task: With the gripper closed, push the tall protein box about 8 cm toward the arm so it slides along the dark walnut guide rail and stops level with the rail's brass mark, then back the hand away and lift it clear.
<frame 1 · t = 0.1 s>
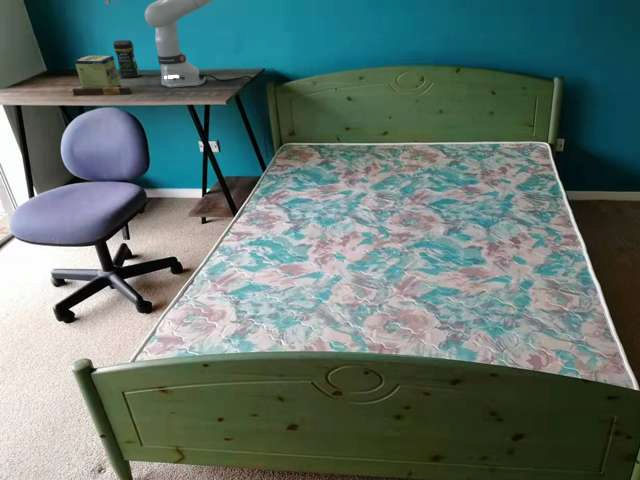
hand: (111, 2, 289), 39 cm above the table, tool pointing down, fingers open, 8 cm apart
coffee jar: (130, 76, 323), on the table
guide rail: (102, 94, 296), on the table
protein box: (102, 90, 302), on the table
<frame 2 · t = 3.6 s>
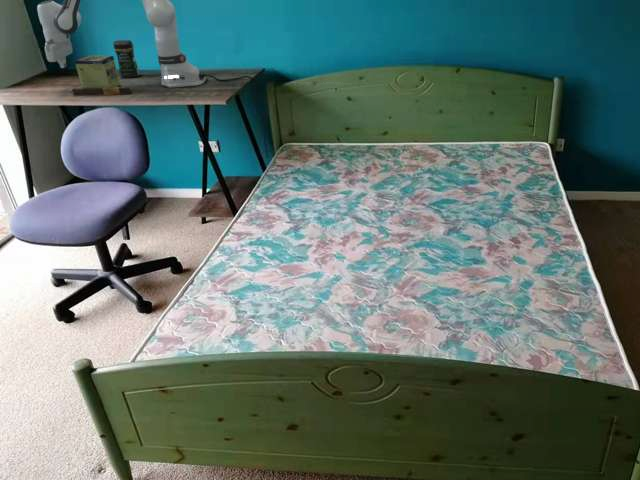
hand: (63, 67, 296), 12 cm above the table, tool pointing down, fingers closed
nothing on the table moved.
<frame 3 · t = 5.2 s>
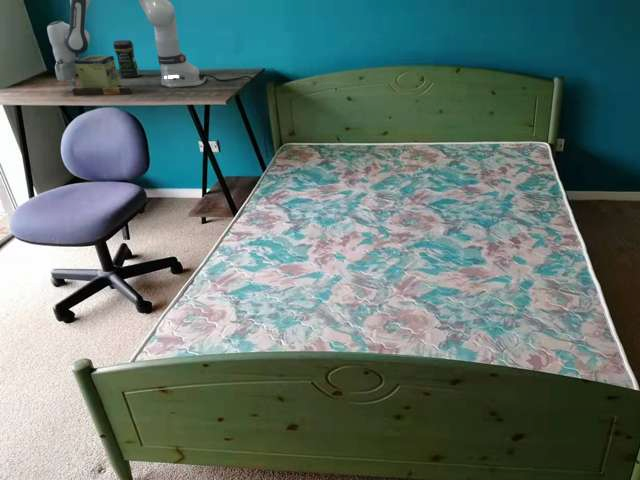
hand: (73, 85, 301), 3 cm above the table, tool pointing down, fingers closed
nothing on the table moved.
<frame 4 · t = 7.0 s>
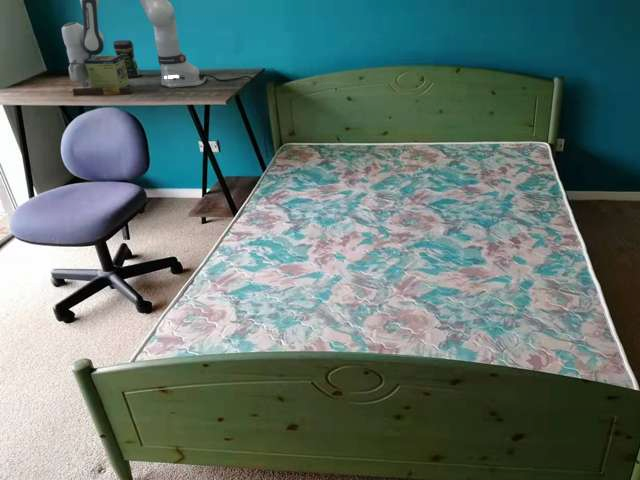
hand: (86, 86, 301), 2 cm above the table, tool pointing down, fingers closed
protein box: (111, 89, 302), on the table, touching arm
everything else where it was.
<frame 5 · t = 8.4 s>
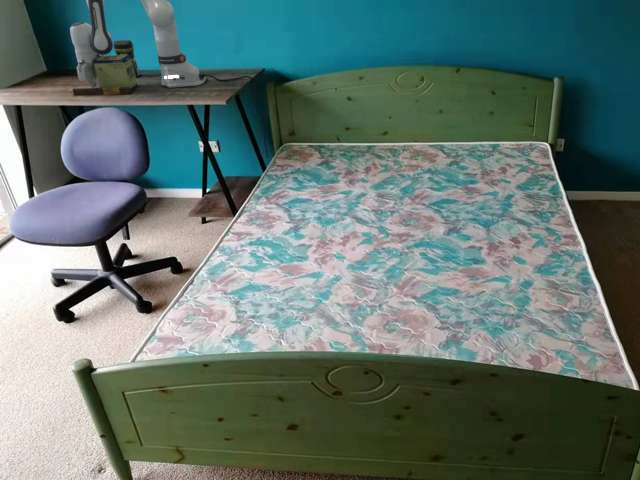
hand: (94, 86, 301), 2 cm above the table, tool pointing down, fingers closed
protein box: (120, 89, 303), on the table, touching arm
everything else where it was.
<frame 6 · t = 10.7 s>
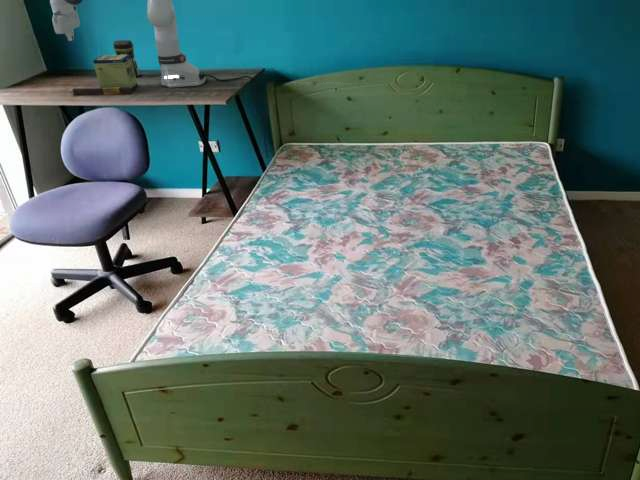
hand: (71, 40, 290), 24 cm above the table, tool pointing down, fingers closed
protein box: (120, 89, 303), on the table
everything else where it was.
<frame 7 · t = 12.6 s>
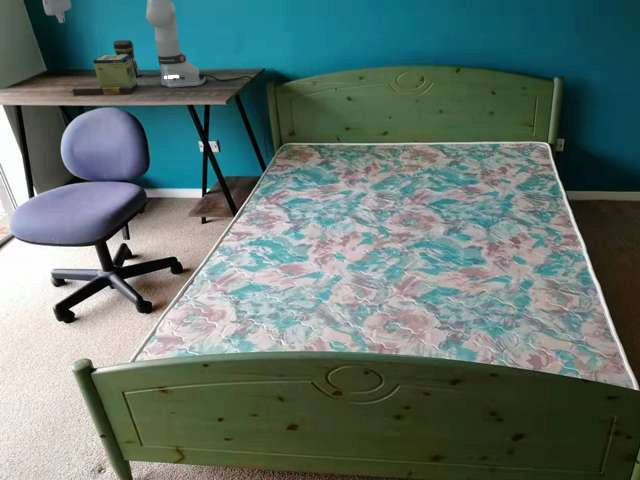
hand: (62, 22, 291), 31 cm above the table, tool pointing down, fingers closed
nothing on the table moved.
at the end: protein box 1.5 cm from the target spot, on the table; protein box tilted 0°; protein box moved 8.5 cm from its start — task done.
